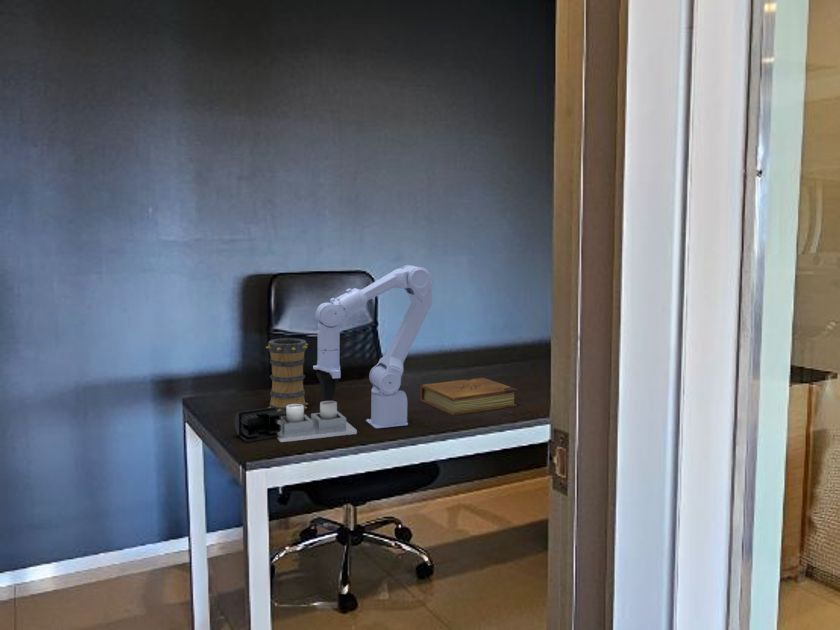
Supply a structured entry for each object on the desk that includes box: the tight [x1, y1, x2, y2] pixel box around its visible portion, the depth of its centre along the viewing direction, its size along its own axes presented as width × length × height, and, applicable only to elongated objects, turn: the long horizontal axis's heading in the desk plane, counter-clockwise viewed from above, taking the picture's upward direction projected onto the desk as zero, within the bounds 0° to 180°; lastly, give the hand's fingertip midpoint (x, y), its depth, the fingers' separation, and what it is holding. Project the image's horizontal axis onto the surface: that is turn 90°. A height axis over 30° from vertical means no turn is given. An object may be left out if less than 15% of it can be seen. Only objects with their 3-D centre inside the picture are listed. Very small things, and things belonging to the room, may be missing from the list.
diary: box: [419, 377, 519, 416], centre depth 224 cm, size 23×19×6 cm
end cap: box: [234, 406, 282, 443], centre depth 187 cm, size 10×7×7 cm
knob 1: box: [285, 404, 305, 423], centre depth 191 cm, size 4×4×4 cm
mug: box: [265, 337, 309, 415], centre depth 214 cm, size 13×17×20 cm
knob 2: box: [319, 400, 338, 419], centre depth 195 cm, size 4×4×4 cm
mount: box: [275, 410, 358, 443], centre depth 193 cm, size 20×14×4 cm
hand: (328, 399), depth 194 cm, fingers closed
